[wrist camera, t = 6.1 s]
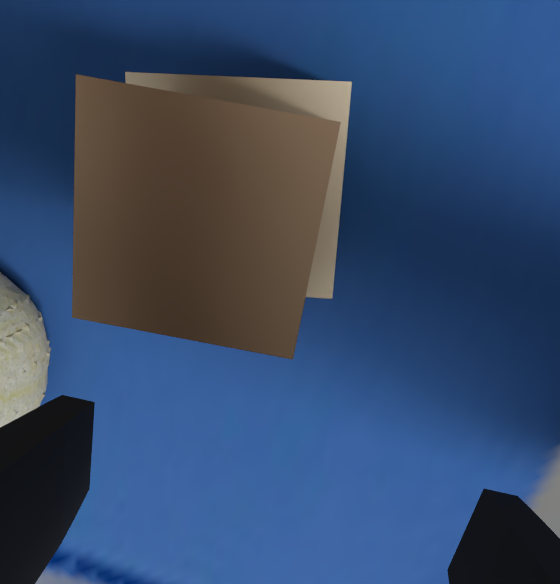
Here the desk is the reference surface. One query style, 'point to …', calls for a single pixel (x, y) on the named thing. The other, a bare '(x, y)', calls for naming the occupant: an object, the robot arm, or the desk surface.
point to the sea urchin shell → (20, 353)
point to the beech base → (293, 99)
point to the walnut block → (196, 214)
